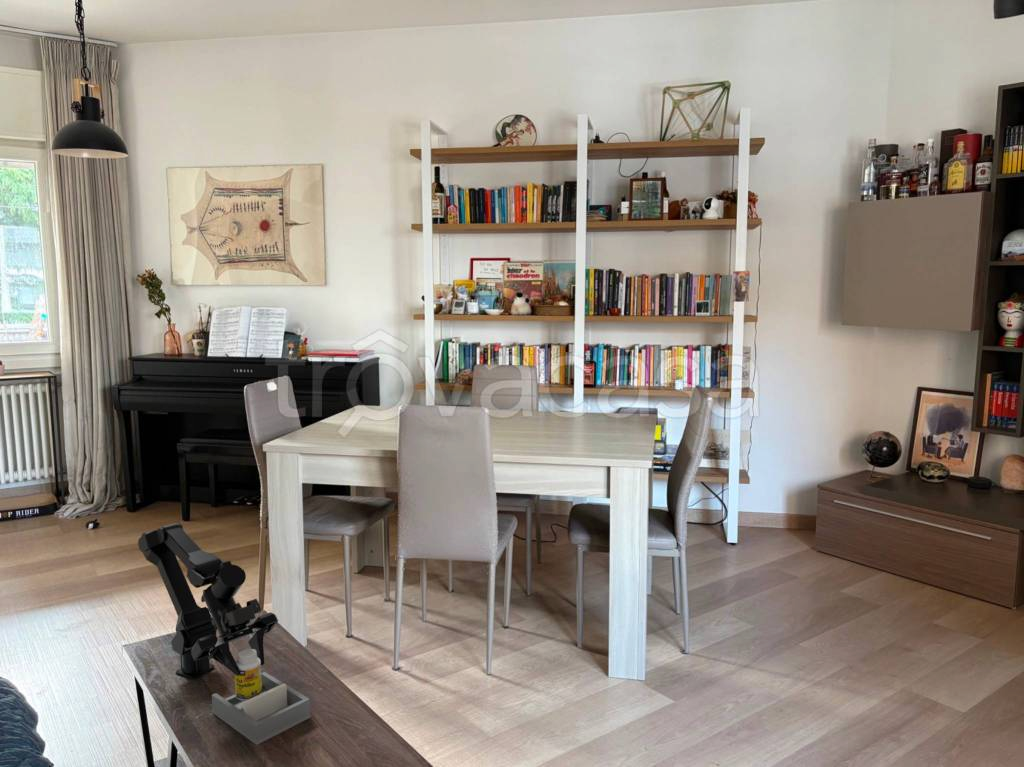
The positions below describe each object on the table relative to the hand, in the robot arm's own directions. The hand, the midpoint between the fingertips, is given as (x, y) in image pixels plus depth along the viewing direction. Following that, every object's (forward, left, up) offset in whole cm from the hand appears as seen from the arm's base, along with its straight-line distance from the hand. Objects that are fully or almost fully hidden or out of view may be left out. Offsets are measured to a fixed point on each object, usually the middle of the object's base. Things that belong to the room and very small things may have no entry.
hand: (251, 669), depth 165 cm
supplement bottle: (-1, 0, -7) cm, 7 cm away
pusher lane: (+3, -1, -10) cm, 10 cm away
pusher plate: (+5, -1, -9) cm, 10 cm away
